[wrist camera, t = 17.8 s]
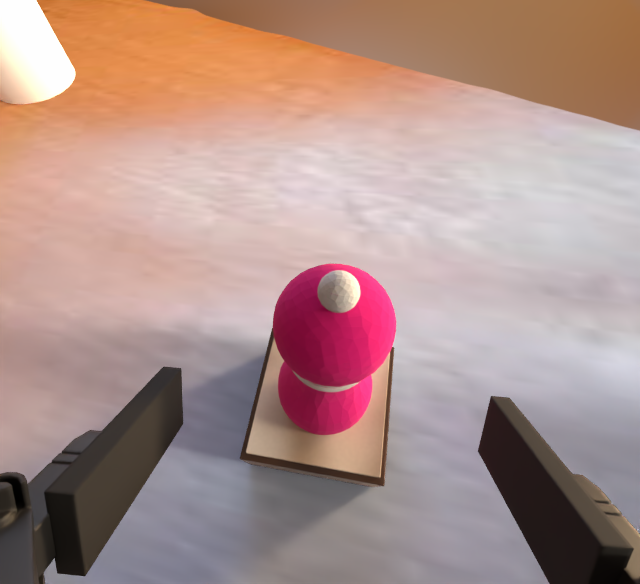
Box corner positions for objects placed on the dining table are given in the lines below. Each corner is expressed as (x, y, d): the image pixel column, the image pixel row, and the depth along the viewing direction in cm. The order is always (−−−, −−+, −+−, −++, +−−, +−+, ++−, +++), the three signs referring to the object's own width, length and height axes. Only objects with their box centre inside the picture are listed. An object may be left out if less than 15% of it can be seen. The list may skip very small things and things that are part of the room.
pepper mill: (345, 347, 34) (384, 193, 17) (377, 423, 31) (468, 332, 13) (271, 373, 33) (228, 235, 15) (297, 455, 30) (279, 401, 12)
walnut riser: (382, 366, 41) (396, 344, 34) (372, 487, 35) (386, 486, 29) (277, 348, 41) (271, 323, 35) (249, 464, 35) (237, 458, 29)
